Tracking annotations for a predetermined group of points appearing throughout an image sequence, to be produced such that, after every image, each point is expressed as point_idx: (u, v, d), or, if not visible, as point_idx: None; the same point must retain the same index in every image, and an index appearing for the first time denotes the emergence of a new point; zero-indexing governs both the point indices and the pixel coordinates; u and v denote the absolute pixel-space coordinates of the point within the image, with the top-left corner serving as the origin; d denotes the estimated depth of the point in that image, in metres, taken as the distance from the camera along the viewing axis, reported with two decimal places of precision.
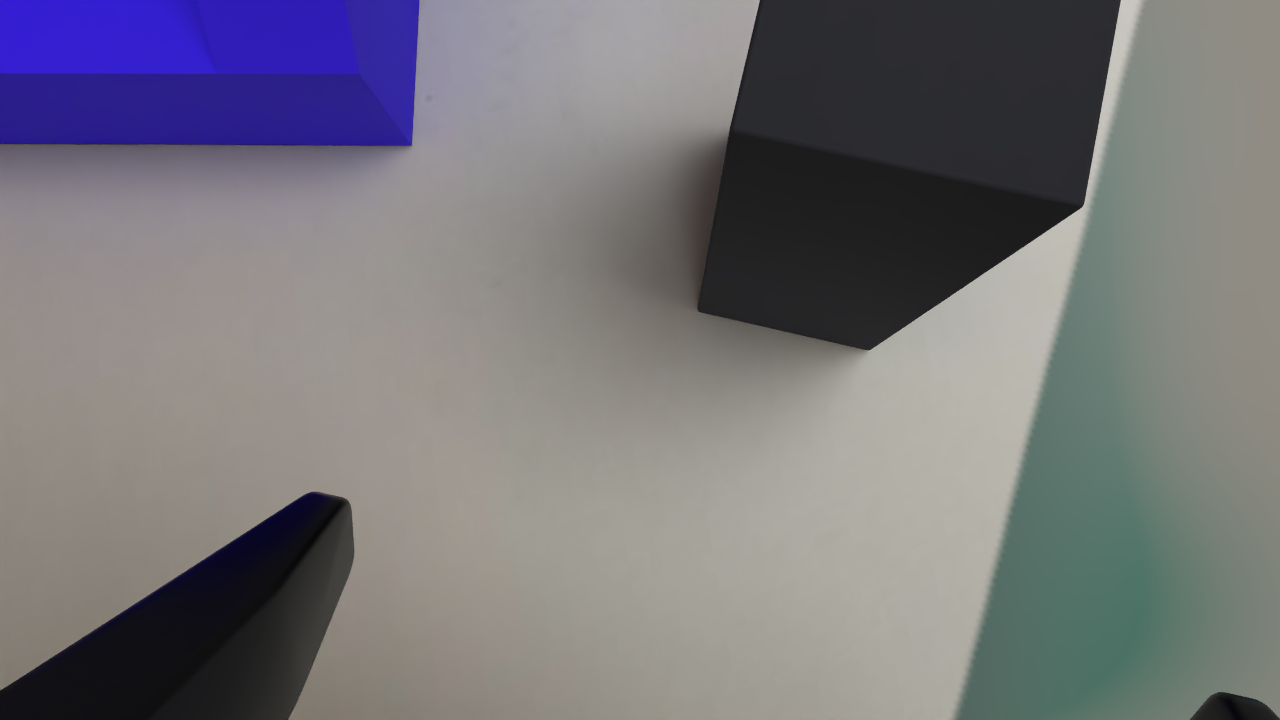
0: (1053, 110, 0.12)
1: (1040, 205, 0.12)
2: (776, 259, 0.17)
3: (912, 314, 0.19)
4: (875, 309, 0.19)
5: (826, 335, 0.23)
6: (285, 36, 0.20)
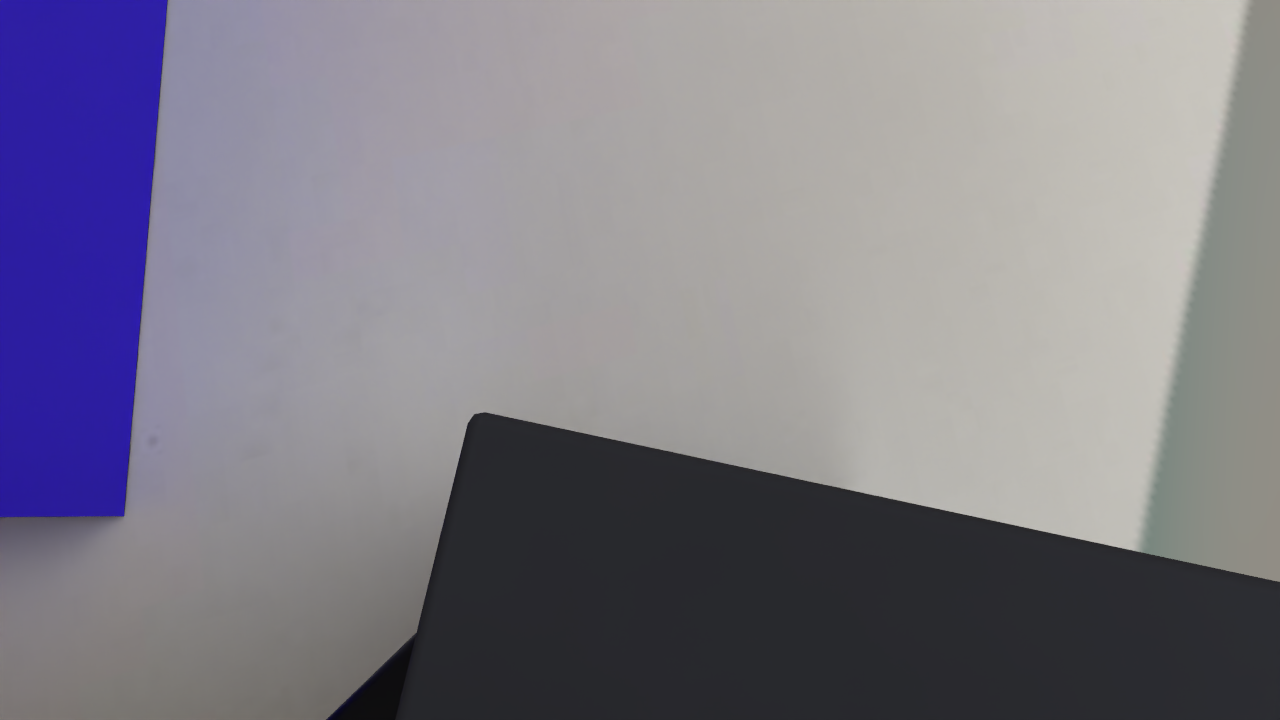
0: None
1: None
2: None
3: None
4: None
5: None
6: None
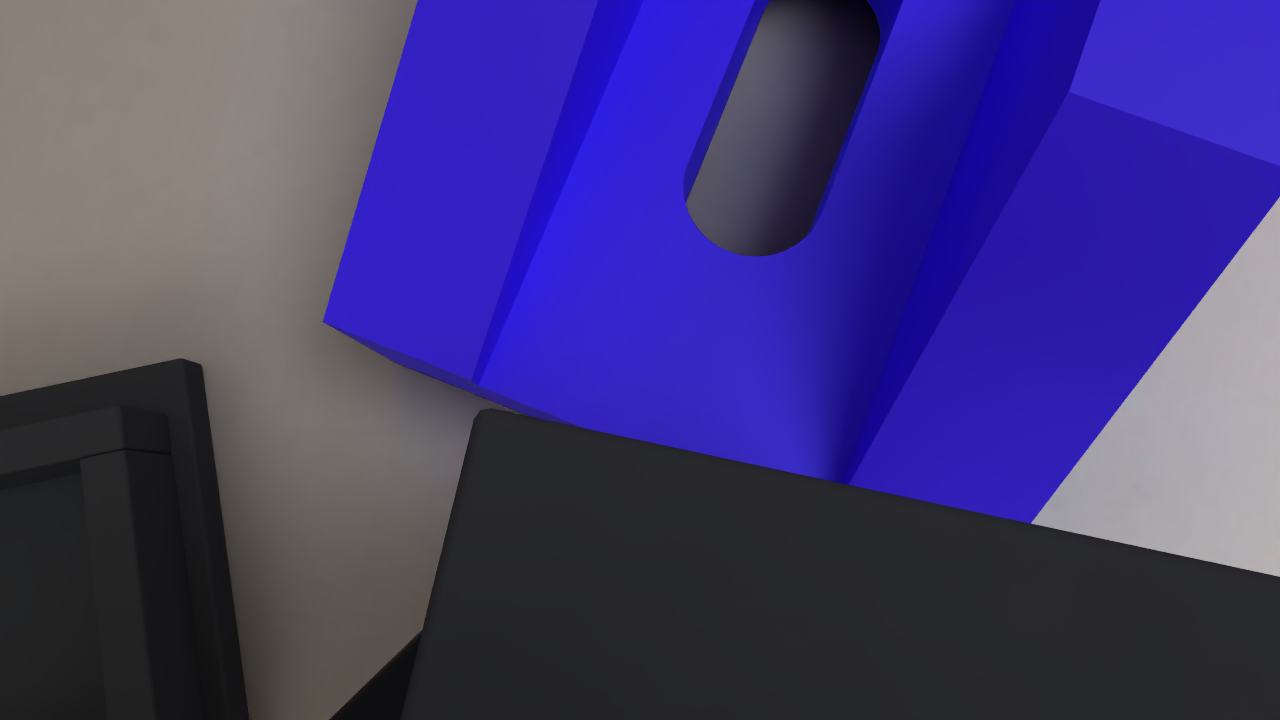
0: None
1: None
2: None
3: None
4: None
5: None
6: None
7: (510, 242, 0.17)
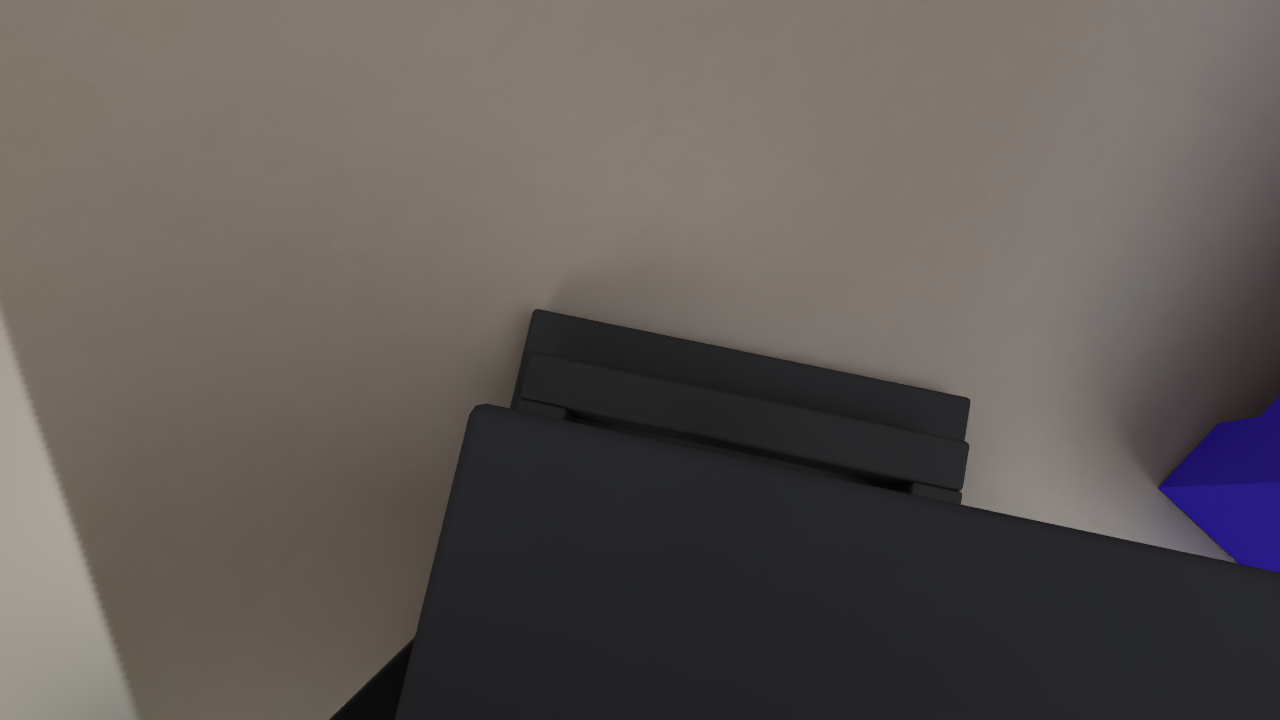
0: None
1: None
2: None
3: None
4: None
5: None
6: None
7: None
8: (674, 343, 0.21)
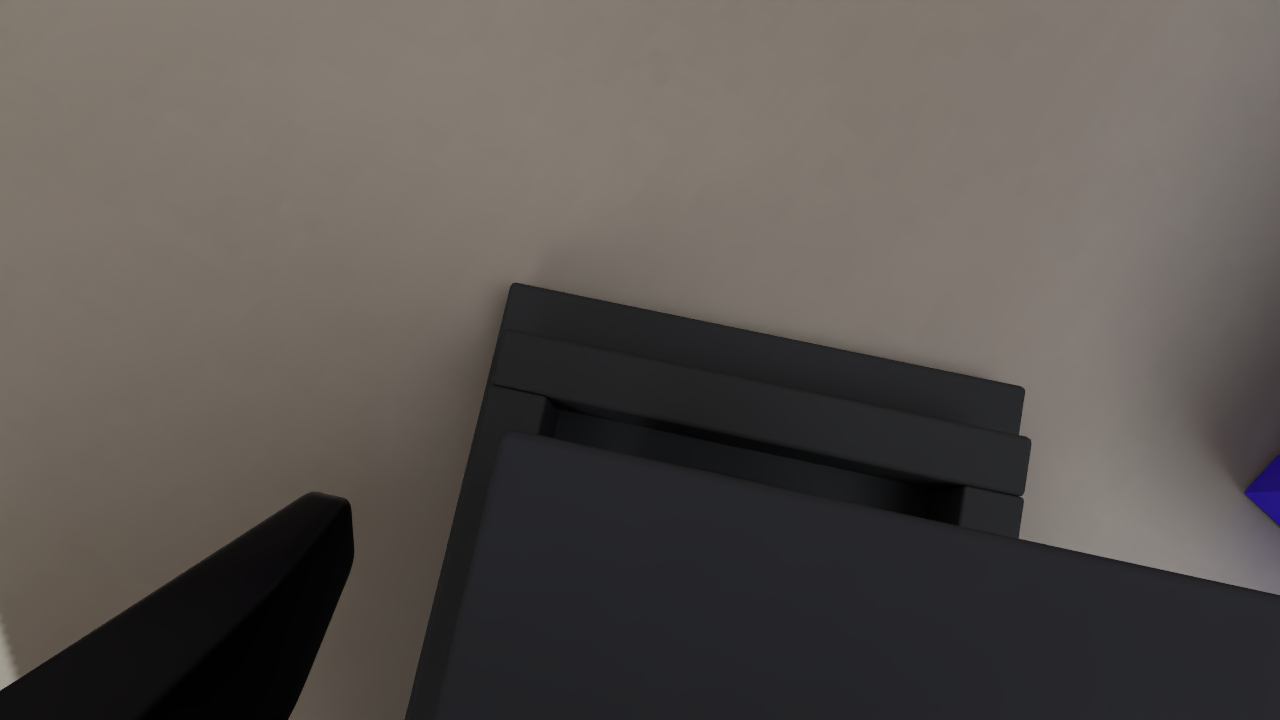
0: None
1: None
2: None
3: None
4: None
5: None
6: None
7: None
8: (676, 322, 0.18)
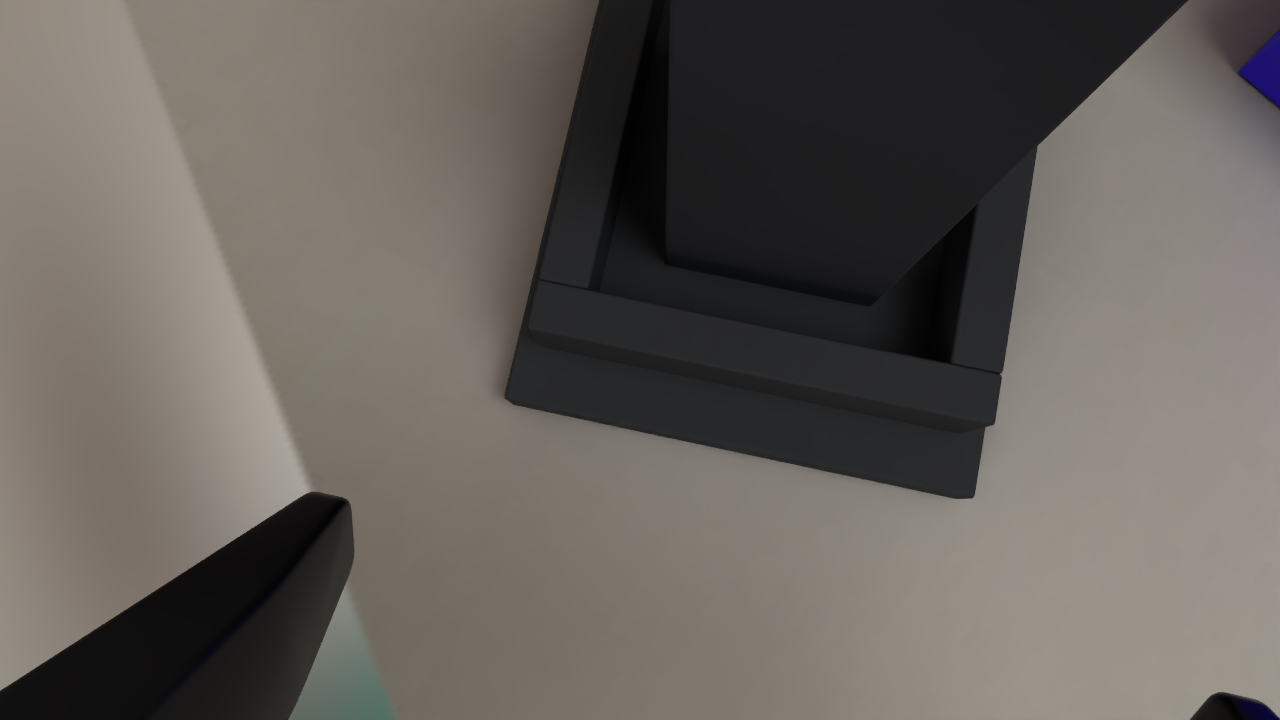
0: None
1: (1128, 0, 0.08)
2: (753, 163, 0.13)
3: (926, 241, 0.15)
4: (879, 238, 0.15)
5: (819, 288, 0.19)
6: None
7: None
8: None
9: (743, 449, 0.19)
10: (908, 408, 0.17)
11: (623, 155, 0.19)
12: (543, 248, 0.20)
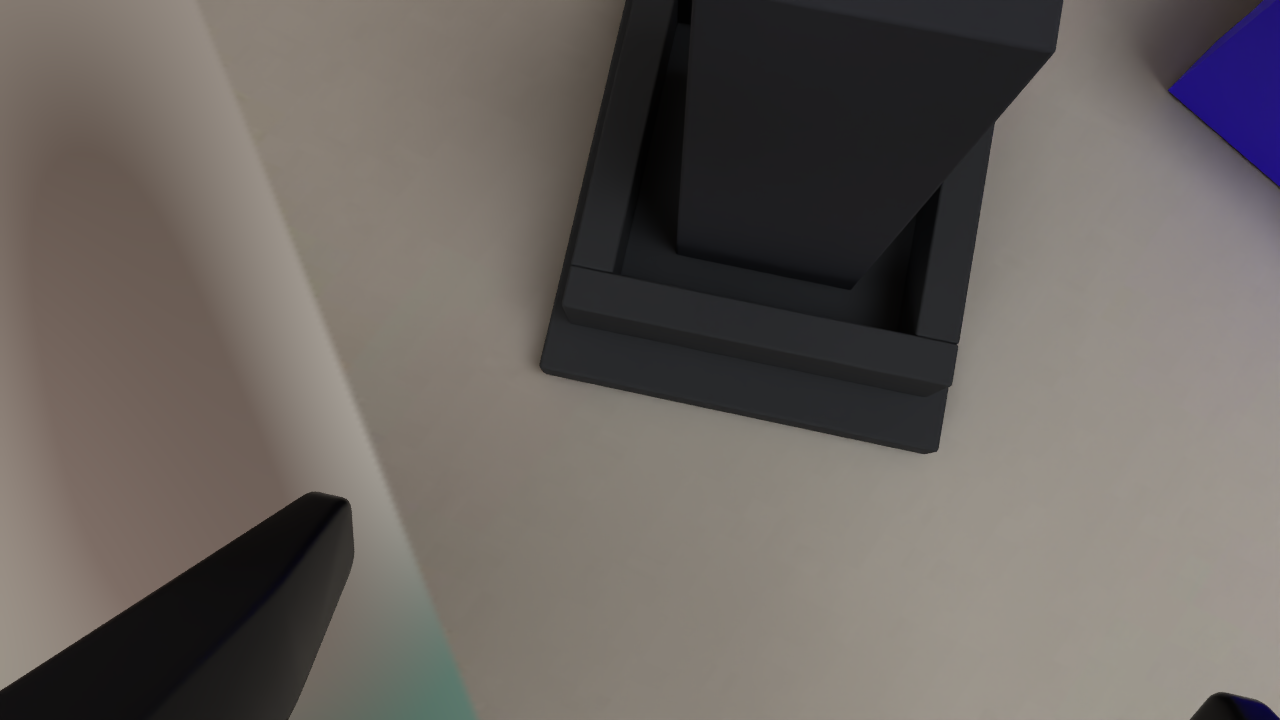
0: None
1: (1012, 54, 0.11)
2: (751, 168, 0.17)
3: (891, 231, 0.18)
4: (853, 229, 0.19)
5: (806, 273, 0.22)
6: None
7: None
8: None
9: (742, 410, 0.23)
10: (880, 372, 0.21)
11: (641, 161, 0.22)
12: (572, 240, 0.23)
